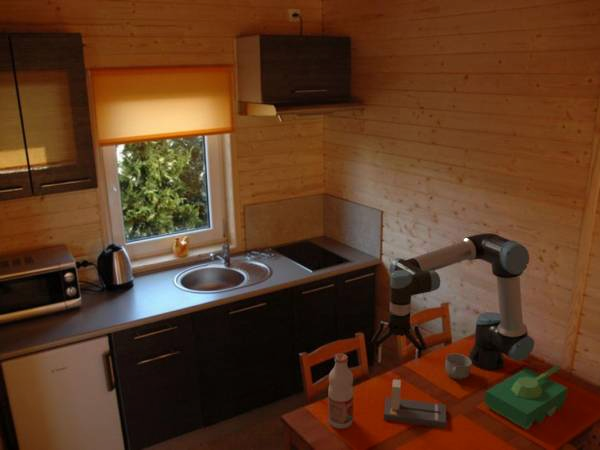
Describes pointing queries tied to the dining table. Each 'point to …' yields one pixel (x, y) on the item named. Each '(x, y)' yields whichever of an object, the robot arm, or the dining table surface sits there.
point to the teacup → (457, 365)
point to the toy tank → (526, 397)
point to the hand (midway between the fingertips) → (397, 362)
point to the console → (416, 413)
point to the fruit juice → (340, 394)
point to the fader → (396, 394)
